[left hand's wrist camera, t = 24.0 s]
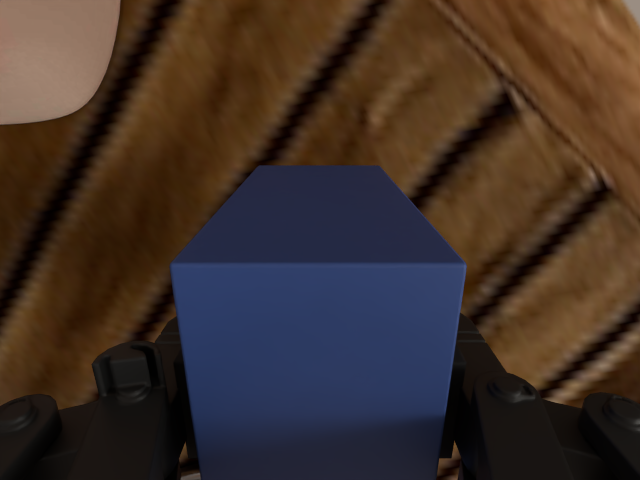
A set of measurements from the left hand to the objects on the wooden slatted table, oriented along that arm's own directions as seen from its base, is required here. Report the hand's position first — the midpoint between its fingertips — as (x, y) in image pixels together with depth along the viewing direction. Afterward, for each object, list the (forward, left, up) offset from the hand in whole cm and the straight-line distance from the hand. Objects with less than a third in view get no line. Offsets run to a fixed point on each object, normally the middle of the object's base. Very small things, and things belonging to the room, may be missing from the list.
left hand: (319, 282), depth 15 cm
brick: (0, 0, -2) cm, 2 cm away
